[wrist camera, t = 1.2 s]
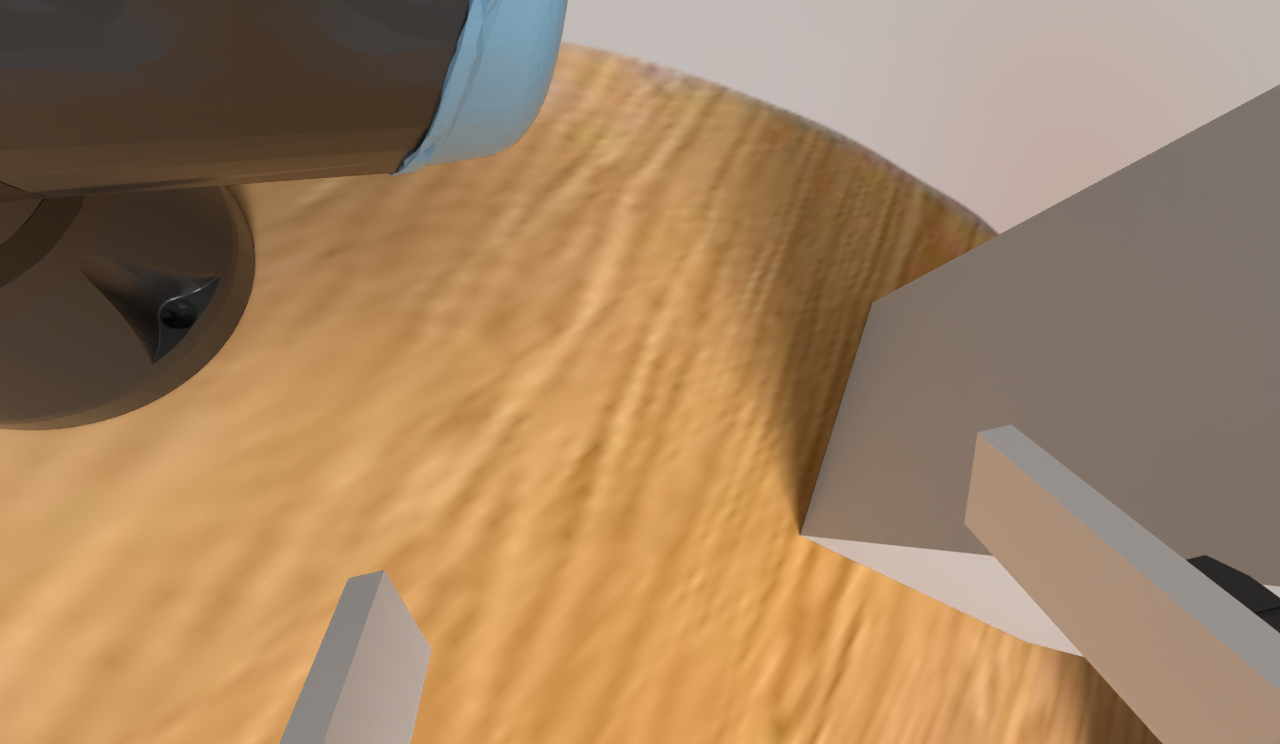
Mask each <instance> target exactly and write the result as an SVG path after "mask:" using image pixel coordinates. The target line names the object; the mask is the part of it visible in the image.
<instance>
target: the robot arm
mask: <svg viewBox="0 0 1280 744" xmlns="http://www.w3.org/2000/svg"><path fill="white" fill-rule="evenodd" d="M567 1H568V0H0V428H2V429H13V430H50V429H62V428H70V427H76V426H82V425H87V424H92V423H96V422H100V421H104V420H107V419H111V418H114V417H117V416H120V415H123V414H126V413H128V412H131V411H134V410H136V409H138V408H141V407H143V406H145V405H147V404H149V403H151V402H153V401H155V400H157V399H159V398H161V397H163V396H165V395H166V394H168V393H170V392H171V391H173V390H174V389H176V388H177V387H179V386H180V385H182V384H183V383H185V382H186V381H187V380H189V379H190V378H191V377H192V376H194V375H195V374H196V373H197V372H199V371H200V370H201V369H202V368H203V367H204V366H205V365H206V364H207V363H208V362H209V361H210V360H211V359H212V358H213V357H214V356H215V355H216V354H217V353H218V352H219V350H220V349H221V348H222V347H223V346H224V344H225V343H226V342H227V340H228V339H229V337H230V336H231V335H232V333H233V331H234V330H235V328H236V326H237V325H238V323H239V321H240V319H241V317H242V315H243V313H244V310H245V308H246V305H247V302H248V299H249V296H250V293H251V288H252V283H253V276H254V249H253V242H252V238H251V233H250V230H249V227H248V224H247V221H246V219H245V216H244V214H243V212H242V210H241V208H240V206H239V205H238V203H237V201H236V200H235V198H234V197H233V195H232V194H231V192H230V191H229V190H228V189H227V187H226V186H225V185H234V184H247V183H261V182H275V181H288V180H302V179H315V178H329V177H343V176H356V175H370V174H384V173H388V174H389V175H391V176H393V175H400V174H410V173H412V172H415V171H417V170H419V169H420V168H421V167H423V166H428V165H435V164H441V163H448V162H455V161H461V160H468V159H475V158H481V157H488V156H492V155H494V154H497V153H499V152H501V151H504V150H506V149H507V148H509V147H510V146H512V145H513V144H515V143H516V142H517V141H518V140H519V139H520V138H521V137H522V136H523V135H524V134H525V133H526V131H527V130H528V129H529V127H530V126H531V124H532V123H533V121H534V120H535V118H536V117H537V115H538V113H539V111H540V109H541V106H542V104H543V102H544V99H545V97H546V95H547V92H548V89H549V86H550V83H551V80H552V76H553V72H554V69H555V65H556V61H557V57H558V52H559V47H560V43H561V37H562V32H563V26H564V20H565V14H566V8H567ZM964 524H965V525H966V526H967V527H968V528H969V529H970V530H971V531H972V533H973V534H974V535H975V536H976V537H977V538H978V539H979V540H980V541H981V543H982V544H983V545H984V546H985V547H986V548H987V549H988V550H989V551H990V553H991V554H992V555H993V556H994V557H995V558H996V559H997V560H998V561H999V563H1000V564H1001V565H1002V566H1003V567H1004V568H1005V569H1006V570H1007V571H1008V573H1009V574H1010V575H1011V576H1012V577H1013V578H1014V579H1015V580H1016V581H1017V583H1018V584H1019V585H1020V586H1021V587H1022V588H1023V589H1024V590H1025V591H1026V593H1027V594H1028V595H1029V596H1030V597H1031V598H1032V599H1033V600H1034V601H1035V603H1036V604H1037V605H1038V606H1039V607H1040V608H1041V609H1042V610H1043V611H1044V613H1045V614H1046V615H1047V616H1048V617H1049V618H1050V619H1051V620H1052V622H1053V623H1054V624H1055V625H1056V626H1057V627H1058V628H1059V629H1060V630H1061V632H1062V633H1063V634H1064V635H1065V636H1066V637H1067V638H1068V639H1069V640H1070V642H1071V643H1072V644H1073V645H1074V646H1075V647H1076V648H1077V649H1078V650H1079V652H1080V653H1081V654H1082V655H1083V656H1084V657H1085V658H1086V659H1087V660H1088V662H1089V663H1090V664H1091V665H1092V666H1093V667H1094V668H1095V669H1096V670H1097V672H1098V673H1099V674H1100V675H1101V676H1102V677H1103V678H1104V679H1105V680H1106V682H1107V683H1108V684H1109V685H1110V686H1111V687H1112V688H1113V689H1114V690H1115V692H1116V693H1117V694H1118V695H1119V696H1120V697H1121V698H1122V699H1123V700H1124V702H1125V703H1126V704H1127V705H1128V706H1129V707H1130V708H1131V709H1132V710H1133V712H1134V713H1135V714H1136V715H1137V716H1138V717H1139V718H1140V719H1141V720H1142V722H1143V723H1144V724H1145V725H1146V726H1147V727H1148V728H1149V729H1150V730H1151V732H1152V733H1153V734H1154V735H1155V736H1156V737H1157V738H1158V739H1159V740H1160V742H1161V743H1162V744H1280V597H1278V596H1277V595H1275V594H1274V593H1273V592H1271V591H1270V590H1269V589H1267V588H1266V587H1264V586H1263V585H1262V584H1260V583H1259V582H1258V581H1256V580H1255V579H1253V578H1252V577H1251V576H1249V575H1247V574H1245V573H1243V572H1241V571H1238V570H1236V569H1234V568H1232V567H1230V566H1228V565H1226V564H1224V563H1222V562H1220V561H1217V560H1215V559H1213V558H1211V557H1209V556H1207V555H1203V556H1199V557H1195V558H1191V559H1187V560H1185V559H1184V558H1182V557H1181V556H1180V555H1179V554H1177V553H1176V552H1175V551H1173V550H1172V549H1171V548H1170V547H1168V546H1167V545H1166V544H1164V543H1163V542H1162V541H1160V540H1159V539H1158V538H1157V537H1155V536H1154V535H1153V534H1151V533H1150V532H1149V531H1148V530H1146V529H1145V528H1144V527H1142V526H1141V525H1140V524H1139V523H1137V522H1136V521H1135V520H1133V519H1132V518H1131V517H1130V516H1128V515H1127V514H1126V513H1124V512H1123V511H1122V510H1121V509H1119V508H1118V507H1117V506H1115V505H1114V504H1113V503H1112V502H1110V501H1109V500H1108V499H1106V498H1105V497H1104V496H1103V495H1101V494H1100V493H1099V492H1097V491H1096V490H1095V489H1094V488H1092V487H1091V486H1090V485H1088V484H1087V483H1086V482H1085V481H1083V480H1082V479H1081V478H1079V477H1078V476H1077V475H1076V474H1074V473H1073V472H1072V471H1070V470H1069V469H1068V468H1067V467H1065V466H1064V465H1063V464H1061V463H1060V462H1059V461H1058V460H1056V459H1055V458H1054V457H1052V456H1051V455H1050V454H1049V453H1047V452H1046V451H1045V450H1043V449H1042V448H1041V447H1040V446H1038V445H1037V444H1036V443H1034V442H1033V441H1032V440H1031V439H1029V438H1028V437H1027V436H1025V435H1024V434H1023V433H1022V432H1020V431H1019V430H1018V429H1016V428H1015V427H1014V426H1013V425H1007V426H1003V427H999V428H994V429H990V430H986V431H981V432H978V433H977V440H976V447H975V453H974V460H973V467H972V474H971V480H970V487H969V494H968V501H967V508H966V514H965V521H964ZM431 650H432V649H431V647H430V645H429V644H428V642H427V640H426V639H425V637H424V635H423V634H422V632H421V630H420V629H419V627H418V626H417V624H416V622H415V621H414V619H413V617H412V616H411V614H410V612H409V611H408V609H407V607H406V606H405V604H404V602H403V601H402V599H401V597H400V596H399V594H398V592H397V591H396V589H395V587H394V586H393V584H392V582H391V581H390V579H389V577H388V576H387V574H386V572H385V571H384V570H383V571H378V572H374V573H370V574H365V575H361V576H357V577H352V578H349V579H348V581H347V583H346V586H345V588H344V590H343V593H342V595H341V598H340V600H339V602H338V605H337V607H336V610H335V612H334V614H333V617H332V619H331V622H330V624H329V626H328V629H327V631H326V634H325V636H324V638H323V641H322V643H321V646H320V648H319V650H318V653H317V655H316V658H315V660H314V662H313V665H312V667H311V670H310V672H309V674H308V677H307V679H306V682H305V684H304V686H303V689H302V691H301V693H300V696H299V698H298V701H297V703H296V705H295V708H294V710H293V713H292V715H291V717H290V720H289V722H288V725H287V727H286V729H285V732H284V734H283V737H282V739H281V741H280V744H411V740H412V735H413V731H414V726H415V722H416V717H417V713H418V708H419V704H420V699H421V695H422V690H423V686H424V681H425V677H426V672H427V668H428V663H429V659H430V654H431Z"/></svg>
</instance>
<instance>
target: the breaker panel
mask: <svg viewBox="0 0 1280 744" xmlns="http://www.w3.org/2000/svg"><path fill="white" fill-rule="evenodd" d="M1007 425H1013V426H1014V427H1015V428H1016V429H1018V430H1019V431H1020V432H1022V433H1023V434H1024V435H1025V436H1027V437H1028V438H1029V439H1031V440H1032V441H1033V442H1034V443H1036V444H1037V445H1038V446H1040V447H1041V448H1042V449H1043V450H1045V451H1046V452H1047V453H1049V454H1050V455H1051V456H1052V457H1054V458H1055V459H1056V460H1058V461H1059V462H1060V463H1061V464H1063V465H1064V466H1065V467H1067V468H1068V469H1069V470H1070V471H1072V472H1073V473H1074V474H1076V475H1077V476H1078V477H1079V478H1081V479H1082V480H1083V481H1085V482H1086V483H1087V484H1088V485H1090V486H1091V487H1092V488H1094V489H1095V490H1096V491H1097V492H1099V493H1100V494H1101V495H1103V496H1104V497H1105V498H1106V499H1108V500H1109V501H1110V502H1112V503H1113V504H1114V505H1115V506H1117V507H1118V508H1119V509H1121V510H1122V511H1123V512H1124V513H1126V514H1127V515H1128V516H1130V517H1131V518H1132V519H1133V520H1135V521H1136V522H1137V523H1139V524H1140V525H1141V526H1142V527H1144V528H1145V529H1146V530H1148V531H1149V532H1150V533H1151V534H1153V535H1154V536H1155V537H1157V538H1158V539H1159V540H1160V541H1162V542H1163V543H1164V544H1166V545H1167V546H1168V547H1170V548H1171V549H1172V550H1173V551H1175V552H1176V553H1177V554H1179V555H1180V556H1181V557H1182V558H1184V559H1185V560H1187V559H1191V558H1195V557H1199V556H1203V555H1207V556H1209V557H1211V558H1213V559H1215V560H1217V561H1220V562H1222V563H1224V564H1226V565H1228V566H1230V567H1232V568H1234V569H1236V570H1238V571H1241V572H1243V573H1245V574H1247V575H1249V576H1251V577H1252V578H1253V579H1255V580H1256V581H1258V582H1259V583H1260V584H1262V585H1263V586H1264V587H1266V588H1267V589H1269V590H1270V591H1271V592H1273V593H1274V594H1275V595H1277V596H1278V597H1280V85H1278V86H1276V87H1274V88H1272V89H1270V90H1269V91H1267V92H1265V93H1263V94H1261V95H1259V96H1257V97H1256V98H1254V99H1252V100H1250V101H1248V102H1246V103H1244V104H1243V105H1241V106H1239V107H1237V108H1235V109H1233V110H1231V111H1229V112H1228V113H1226V114H1224V115H1222V116H1220V117H1218V118H1216V119H1215V120H1213V121H1211V122H1209V123H1207V124H1205V125H1203V126H1201V127H1200V128H1198V129H1196V130H1194V131H1192V132H1190V133H1189V134H1186V135H1185V136H1183V137H1181V138H1179V139H1177V140H1175V141H1174V142H1171V143H1170V144H1168V145H1166V146H1164V147H1162V148H1160V149H1158V150H1157V151H1155V152H1153V153H1151V154H1149V155H1147V156H1146V157H1143V158H1142V159H1140V160H1138V161H1136V162H1134V163H1132V164H1130V165H1129V166H1127V167H1125V168H1123V169H1121V170H1119V171H1117V172H1116V173H1114V174H1112V175H1110V176H1108V177H1106V178H1104V179H1103V180H1101V181H1099V182H1097V183H1095V184H1093V185H1091V186H1089V187H1088V188H1086V189H1084V190H1082V191H1080V192H1078V193H1076V194H1074V195H1072V196H1071V197H1069V198H1067V199H1065V200H1063V201H1061V202H1059V203H1058V204H1056V205H1054V206H1052V207H1050V208H1048V209H1046V210H1045V211H1043V212H1041V213H1039V214H1037V215H1035V216H1033V217H1031V218H1030V219H1028V220H1026V221H1024V222H1022V223H1020V224H1018V225H1017V226H1015V227H1013V228H1011V229H1009V230H1007V231H1005V232H1003V233H1002V234H1000V235H998V236H996V237H994V238H992V239H990V240H988V241H987V242H985V243H983V244H981V245H979V246H977V247H975V248H973V249H972V250H970V251H968V252H966V253H964V254H962V255H960V256H959V257H957V258H955V259H953V260H951V261H949V262H947V263H945V264H944V265H942V266H940V267H938V268H936V269H934V270H932V271H931V272H929V273H927V274H925V275H923V276H921V277H919V278H917V279H916V280H914V281H912V282H910V283H908V284H906V285H904V286H903V287H901V288H899V289H897V290H895V291H893V292H891V293H889V294H888V295H886V296H884V297H882V298H880V299H878V300H876V301H874V302H873V303H872V305H871V308H870V311H869V315H868V318H867V321H866V324H865V327H864V331H863V334H862V337H861V340H860V344H859V347H858V350H857V353H856V356H855V360H854V363H853V366H852V369H851V373H850V376H849V379H848V382H847V385H846V389H845V392H844V395H843V398H842V401H841V405H840V408H839V411H838V414H837V418H836V421H835V424H834V427H833V430H832V434H831V437H830V440H829V443H828V447H827V450H826V453H825V456H824V459H823V463H822V466H821V469H820V472H819V476H818V479H817V482H816V485H815V488H814V492H813V495H812V498H811V501H810V505H809V508H808V511H807V514H806V517H805V521H804V524H803V527H802V530H801V534H800V536H802V537H804V538H807V539H809V540H811V541H813V542H815V543H817V544H819V545H821V546H823V547H826V548H828V549H830V550H832V551H834V552H836V553H838V554H840V555H843V556H845V557H847V558H849V559H851V560H853V561H855V562H857V563H859V564H862V565H864V566H866V567H868V568H870V569H872V570H874V571H876V572H879V573H881V574H883V575H885V576H887V577H889V578H891V579H893V580H895V581H898V582H900V583H902V584H904V585H906V586H908V587H910V588H912V589H915V590H917V591H919V592H921V593H923V594H925V595H927V596H929V597H931V598H934V599H936V600H938V601H940V602H942V603H944V604H946V605H948V606H950V607H953V608H955V609H957V610H959V611H961V612H963V613H965V614H967V615H970V616H972V617H974V618H976V619H978V620H980V621H982V622H984V623H986V624H989V625H991V626H993V627H995V628H997V629H999V630H1001V631H1003V632H1006V633H1008V634H1010V635H1012V636H1014V637H1016V638H1018V639H1020V640H1022V641H1025V642H1028V643H1032V644H1036V645H1040V646H1044V647H1047V648H1051V649H1055V650H1059V651H1063V652H1066V653H1070V654H1074V655H1078V656H1082V657H1084V656H1083V655H1082V654H1081V653H1080V652H1079V650H1078V649H1077V648H1076V647H1075V646H1074V645H1073V644H1072V643H1071V642H1070V640H1069V639H1068V638H1067V637H1066V636H1065V635H1064V634H1063V633H1062V632H1061V630H1060V629H1059V628H1058V627H1057V626H1056V625H1055V624H1054V623H1053V622H1052V620H1051V619H1050V618H1049V617H1048V616H1047V615H1046V614H1045V613H1044V611H1043V610H1042V609H1041V608H1040V607H1039V606H1038V605H1037V604H1036V603H1035V601H1034V600H1033V599H1032V598H1031V597H1030V596H1029V595H1028V594H1027V593H1026V591H1025V590H1024V589H1023V588H1022V587H1021V586H1020V585H1019V584H1018V583H1017V581H1016V580H1015V579H1014V578H1013V577H1012V576H1011V575H1010V574H1009V573H1008V571H1007V570H1006V569H1005V568H1004V567H1003V566H1002V565H1001V564H1000V563H999V561H998V560H997V559H996V558H995V557H994V556H993V555H992V554H991V553H990V551H989V550H988V549H987V548H986V547H985V546H984V545H983V544H982V543H981V541H980V540H979V539H978V538H977V537H976V536H975V535H974V534H973V533H972V531H971V530H970V529H969V528H968V527H967V526H966V525H965V524H964V521H965V514H966V508H967V501H968V494H969V487H970V480H971V474H972V467H973V460H974V453H975V447H976V440H977V433H978V432H981V431H986V430H990V429H994V428H999V427H1003V426H1007Z"/></svg>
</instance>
